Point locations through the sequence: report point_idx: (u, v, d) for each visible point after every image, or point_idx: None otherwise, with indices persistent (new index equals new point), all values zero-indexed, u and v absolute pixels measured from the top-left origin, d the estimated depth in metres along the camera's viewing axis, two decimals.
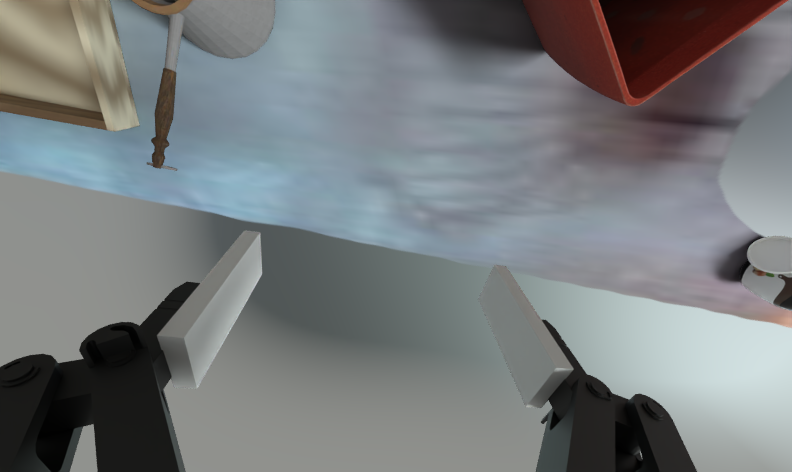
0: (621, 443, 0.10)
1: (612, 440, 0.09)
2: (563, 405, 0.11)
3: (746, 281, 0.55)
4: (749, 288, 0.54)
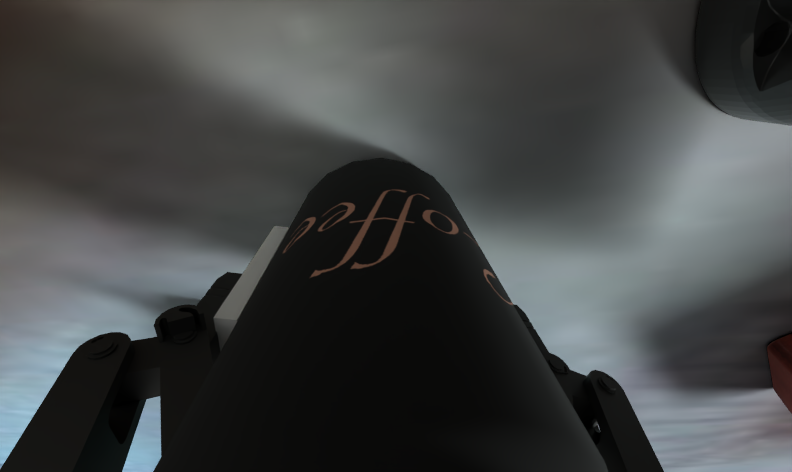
0: None
1: None
2: None
3: None
4: None
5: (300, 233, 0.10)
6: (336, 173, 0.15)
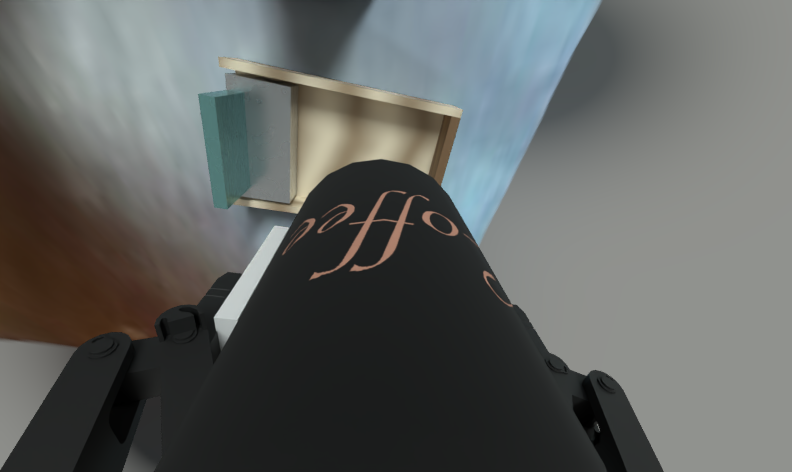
0: (577, 416, 0.11)
1: None
2: None
3: None
4: None
5: (299, 235, 0.10)
6: (336, 174, 0.15)
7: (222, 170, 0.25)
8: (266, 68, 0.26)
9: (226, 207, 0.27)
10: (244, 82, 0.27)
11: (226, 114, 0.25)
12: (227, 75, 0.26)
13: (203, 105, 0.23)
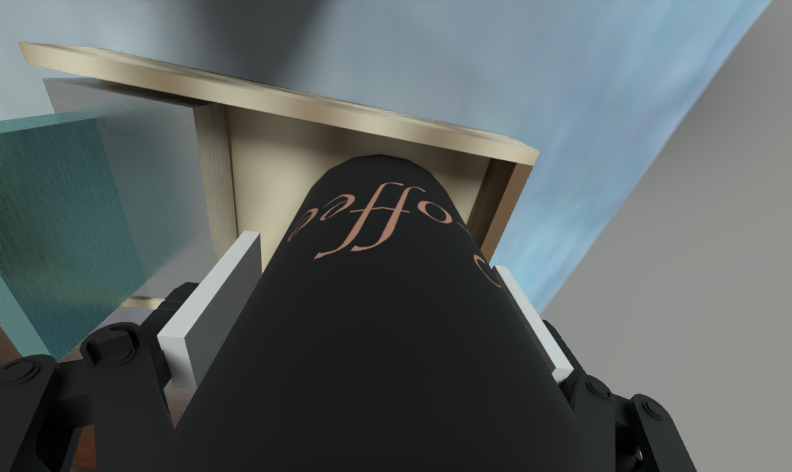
0: (621, 443, 0.10)
1: (612, 440, 0.09)
2: None
3: None
4: None
5: (303, 222, 0.11)
6: (337, 168, 0.16)
7: (16, 301, 0.11)
8: (133, 68, 0.12)
9: None
10: (91, 98, 0.13)
11: (12, 178, 0.10)
12: (48, 83, 0.12)
13: None
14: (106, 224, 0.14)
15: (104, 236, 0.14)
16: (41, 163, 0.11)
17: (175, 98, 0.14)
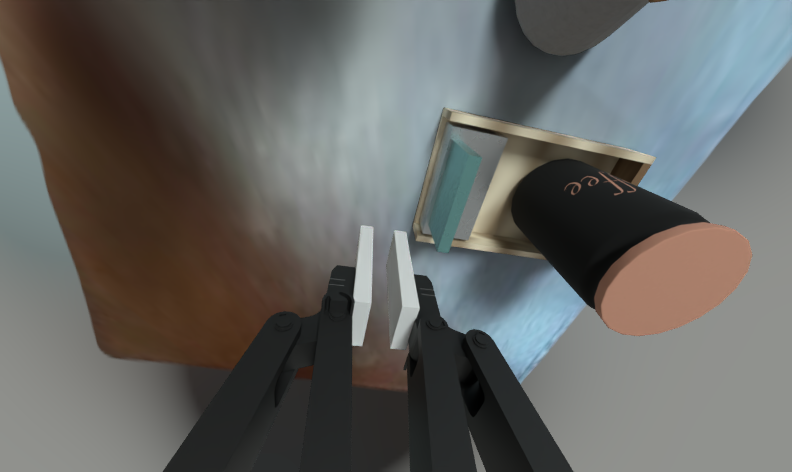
0: None
1: (453, 364, 0.10)
2: (415, 349, 0.12)
3: None
4: None
5: (577, 187, 0.27)
6: (549, 165, 0.32)
7: (460, 219, 0.27)
8: (491, 121, 0.28)
9: (448, 251, 0.29)
10: (468, 134, 0.28)
11: None
12: (454, 128, 0.28)
13: (469, 164, 0.24)
14: None
15: None
16: None
17: (489, 132, 0.30)
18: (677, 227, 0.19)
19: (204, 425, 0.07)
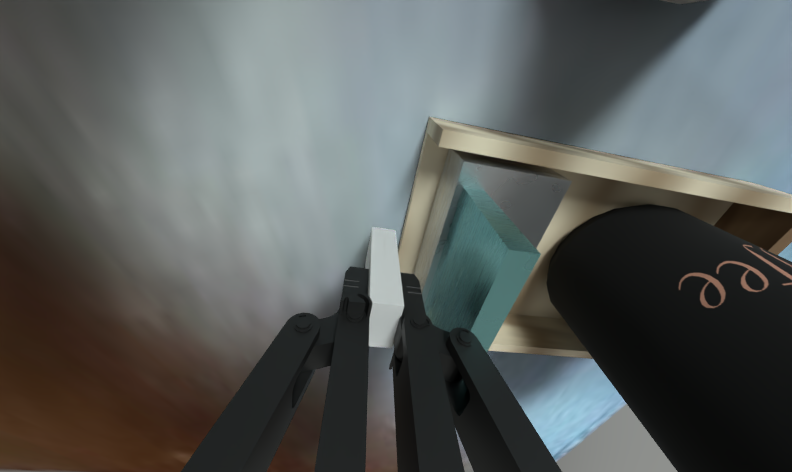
0: None
1: (438, 361, 0.10)
2: (400, 348, 0.12)
3: None
4: None
5: (715, 290, 0.12)
6: (624, 220, 0.18)
7: None
8: (525, 147, 0.14)
9: None
10: (493, 175, 0.14)
11: None
12: (465, 164, 0.14)
13: (507, 269, 0.10)
14: None
15: None
16: None
17: (532, 168, 0.16)
18: None
19: (225, 422, 0.07)
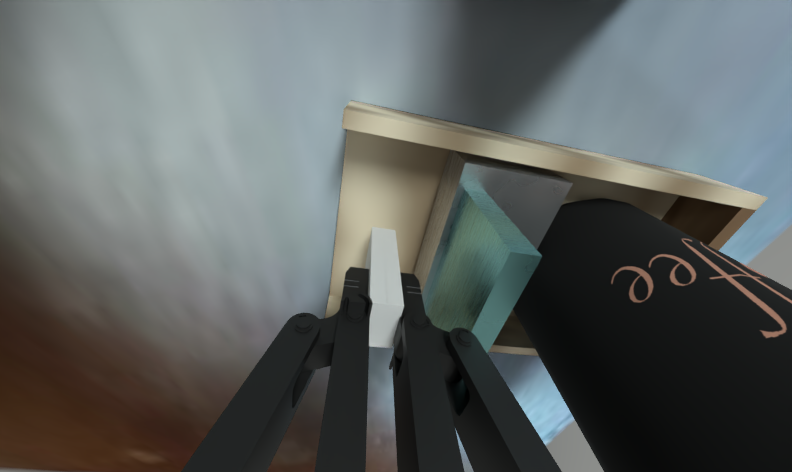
0: None
1: (438, 361, 0.10)
2: (399, 348, 0.12)
3: None
4: None
5: (644, 284, 0.12)
6: (572, 213, 0.17)
7: None
8: (435, 130, 0.13)
9: None
10: (494, 177, 0.14)
11: None
12: (467, 166, 0.14)
13: (509, 271, 0.10)
14: None
15: None
16: None
17: (533, 170, 0.16)
18: None
19: (225, 422, 0.07)
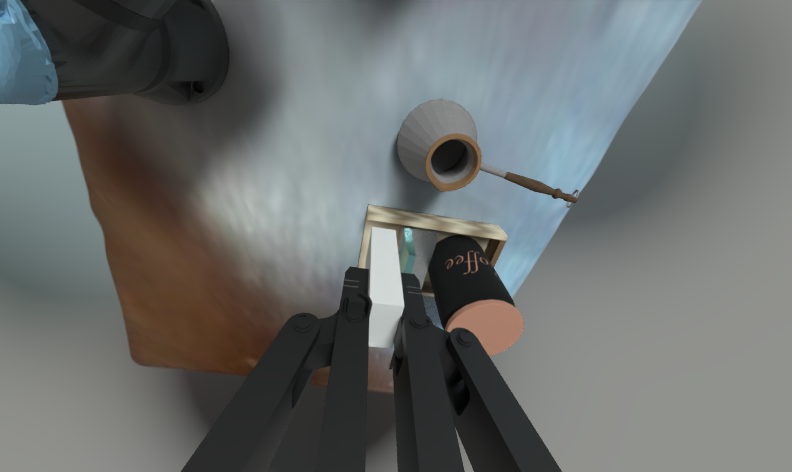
0: None
1: (438, 361, 0.10)
2: (400, 348, 0.12)
3: None
4: None
5: (450, 264, 0.43)
6: (446, 241, 0.48)
7: None
8: (394, 219, 0.44)
9: None
10: (414, 231, 0.46)
11: None
12: (405, 228, 0.45)
13: (409, 259, 0.41)
14: None
15: None
16: None
17: None
18: (476, 302, 0.35)
19: (225, 422, 0.07)
